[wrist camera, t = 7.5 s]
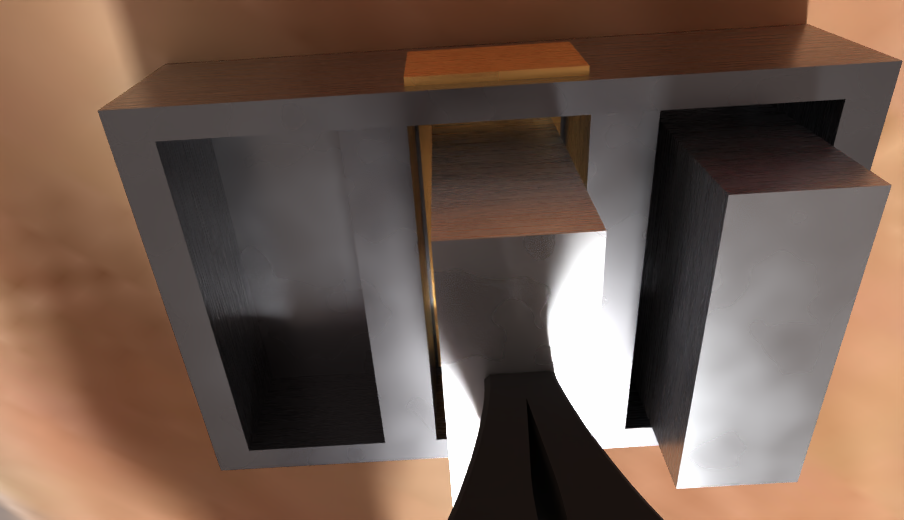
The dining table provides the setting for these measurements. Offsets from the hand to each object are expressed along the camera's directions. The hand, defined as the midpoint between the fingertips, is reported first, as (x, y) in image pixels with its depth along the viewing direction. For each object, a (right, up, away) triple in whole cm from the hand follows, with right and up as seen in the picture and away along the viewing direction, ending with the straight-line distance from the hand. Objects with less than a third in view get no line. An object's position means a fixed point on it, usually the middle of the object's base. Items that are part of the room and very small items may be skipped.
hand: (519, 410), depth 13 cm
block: (0, +4, +6) cm, 7 cm away
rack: (0, +4, +7) cm, 8 cm away
